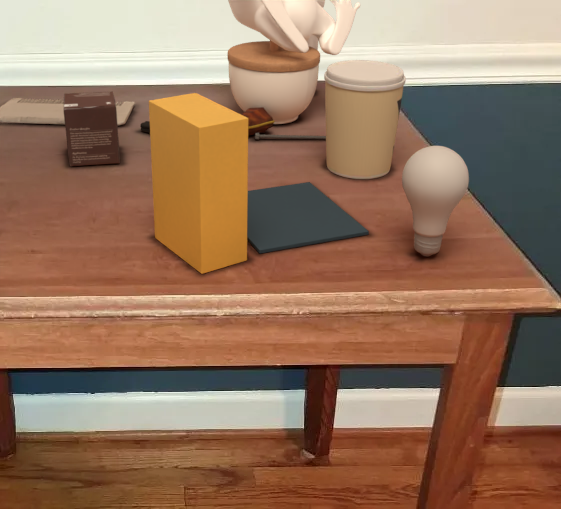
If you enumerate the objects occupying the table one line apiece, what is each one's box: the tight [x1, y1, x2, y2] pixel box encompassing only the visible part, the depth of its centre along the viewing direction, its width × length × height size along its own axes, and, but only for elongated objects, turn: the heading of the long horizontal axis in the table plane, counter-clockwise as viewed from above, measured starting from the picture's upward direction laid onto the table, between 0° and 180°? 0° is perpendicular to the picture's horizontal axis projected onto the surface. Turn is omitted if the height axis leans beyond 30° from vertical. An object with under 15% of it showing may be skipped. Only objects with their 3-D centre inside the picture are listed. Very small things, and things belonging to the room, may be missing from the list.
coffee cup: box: [323, 59, 407, 180], centre depth 100 cm, size 9×9×12 cm
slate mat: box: [247, 181, 370, 254], centre depth 89 cm, size 12×14×1 cm
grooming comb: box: [0, 97, 136, 126], centre depth 117 cm, size 18×10×1 cm, turn 88°
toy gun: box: [140, 107, 275, 136], centre depth 111 cm, size 4×15×10 cm
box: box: [63, 91, 121, 167], centre depth 101 cm, size 6×6×7 cm
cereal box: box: [148, 92, 249, 275], centre depth 78 cm, size 5×9×14 cm, turn 36°
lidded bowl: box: [227, 40, 321, 125], centre depth 116 cm, size 13×13×11 cm
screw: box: [254, 132, 326, 141], centre depth 110 cm, size 10×1×1 cm, turn 95°
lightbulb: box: [401, 145, 470, 257], centre depth 79 cm, size 6×6×11 cm
